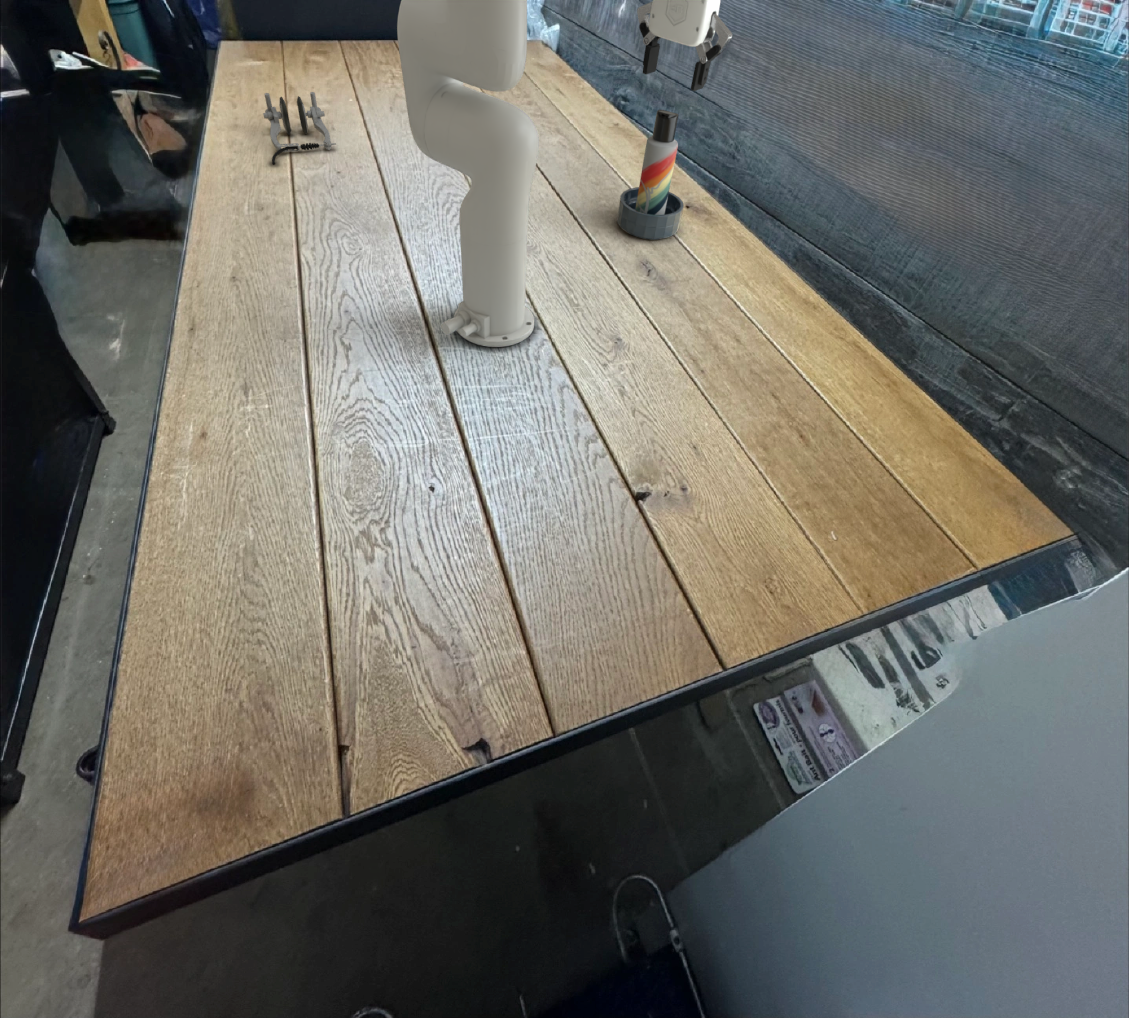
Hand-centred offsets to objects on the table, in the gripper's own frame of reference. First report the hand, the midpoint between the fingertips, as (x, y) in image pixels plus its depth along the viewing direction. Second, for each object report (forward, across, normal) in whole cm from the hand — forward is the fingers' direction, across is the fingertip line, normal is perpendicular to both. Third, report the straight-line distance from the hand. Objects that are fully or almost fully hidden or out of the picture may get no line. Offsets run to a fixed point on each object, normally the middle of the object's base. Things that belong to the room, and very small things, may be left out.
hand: (672, 80), depth 109 cm
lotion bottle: (+25, 0, +1) cm, 25 cm away
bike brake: (+26, -73, -26) cm, 82 cm away
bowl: (+25, 0, +1) cm, 25 cm away
